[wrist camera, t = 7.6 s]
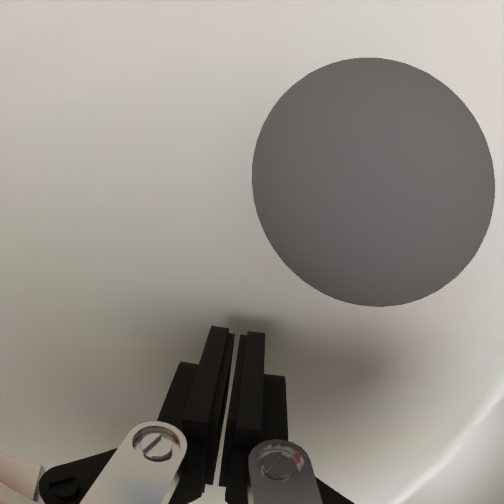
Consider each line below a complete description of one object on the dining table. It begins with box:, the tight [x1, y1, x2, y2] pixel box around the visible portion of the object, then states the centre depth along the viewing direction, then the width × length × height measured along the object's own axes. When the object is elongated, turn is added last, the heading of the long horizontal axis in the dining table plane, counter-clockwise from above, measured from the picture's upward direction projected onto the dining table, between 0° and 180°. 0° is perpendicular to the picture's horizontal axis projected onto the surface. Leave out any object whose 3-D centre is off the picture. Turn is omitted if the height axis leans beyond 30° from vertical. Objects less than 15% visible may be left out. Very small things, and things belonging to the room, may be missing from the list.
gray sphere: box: [252, 58, 495, 307], centre depth 7 cm, size 6×6×6 cm
